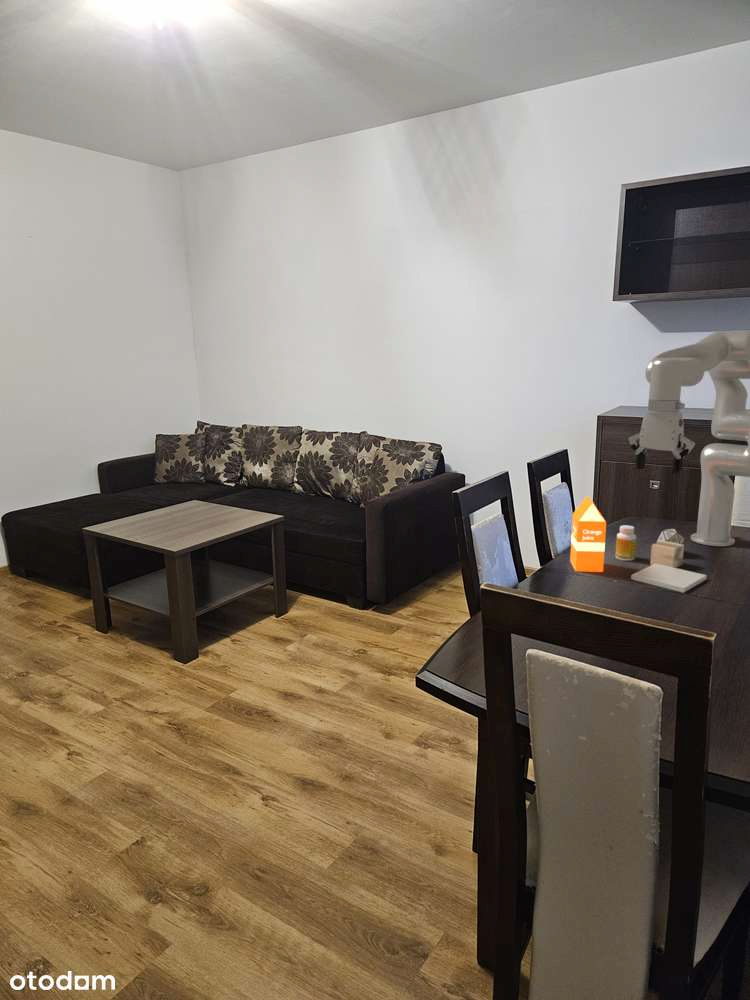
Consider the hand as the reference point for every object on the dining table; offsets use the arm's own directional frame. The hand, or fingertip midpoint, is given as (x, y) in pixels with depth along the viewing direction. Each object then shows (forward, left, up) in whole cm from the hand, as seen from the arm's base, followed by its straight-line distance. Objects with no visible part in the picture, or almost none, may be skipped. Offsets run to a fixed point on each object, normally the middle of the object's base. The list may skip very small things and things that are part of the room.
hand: (657, 471), depth 172 cm
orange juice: (+8, -15, -29) cm, 34 cm away
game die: (-21, -4, -29) cm, 36 cm away
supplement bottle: (-7, -11, -29) cm, 32 cm away
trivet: (+2, +6, -29) cm, 29 cm away
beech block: (-10, 0, -29) cm, 31 cm away
